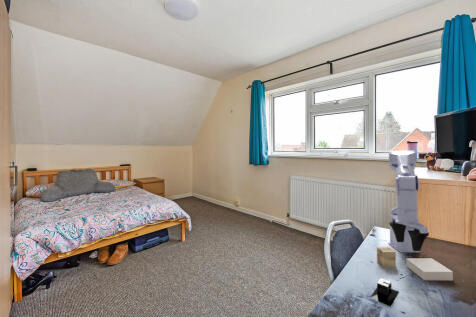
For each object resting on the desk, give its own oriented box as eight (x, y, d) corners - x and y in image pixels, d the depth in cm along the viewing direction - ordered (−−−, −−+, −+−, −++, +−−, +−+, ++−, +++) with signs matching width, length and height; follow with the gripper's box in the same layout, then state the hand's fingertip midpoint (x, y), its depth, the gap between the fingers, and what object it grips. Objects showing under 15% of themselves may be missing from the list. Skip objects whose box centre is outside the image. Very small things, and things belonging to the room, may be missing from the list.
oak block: (377, 261, 87) (376, 246, 87) (388, 261, 87) (388, 246, 86) (383, 267, 83) (383, 251, 82) (395, 267, 82) (395, 251, 82)
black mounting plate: (392, 313, 61) (391, 297, 61) (364, 300, 66) (363, 286, 66) (403, 292, 69) (402, 278, 69) (377, 282, 74) (376, 269, 74)
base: (406, 266, 82) (406, 258, 82) (431, 266, 82) (431, 258, 82) (424, 280, 74) (424, 271, 73) (452, 280, 73) (452, 271, 73)
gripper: (382, 204, 85) (383, 238, 85) (412, 214, 70) (413, 255, 70) (400, 204, 84) (401, 238, 85) (433, 213, 70) (434, 255, 70)
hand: (408, 246), depth 77 cm, fingers open, 7 cm apart
